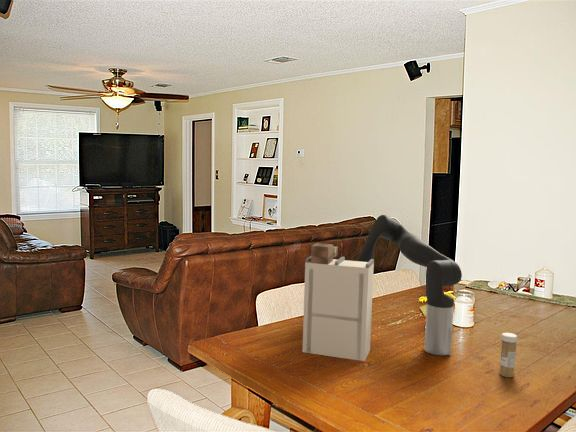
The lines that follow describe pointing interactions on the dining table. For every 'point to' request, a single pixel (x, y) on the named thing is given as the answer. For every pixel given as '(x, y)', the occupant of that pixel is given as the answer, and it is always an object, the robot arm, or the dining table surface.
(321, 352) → the off-white tall box
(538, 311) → the dining table surface
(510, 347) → the sprinkles bottle
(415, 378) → the dining table surface
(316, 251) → the walnut bar
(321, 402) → the dining table surface
